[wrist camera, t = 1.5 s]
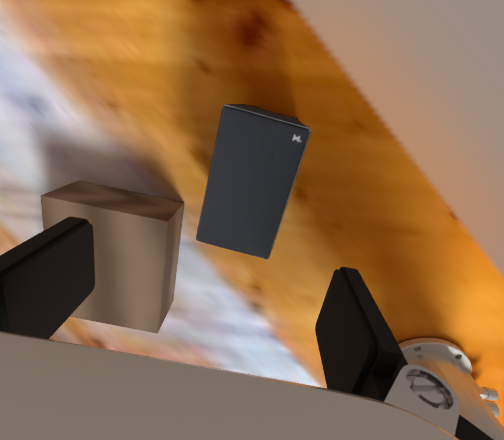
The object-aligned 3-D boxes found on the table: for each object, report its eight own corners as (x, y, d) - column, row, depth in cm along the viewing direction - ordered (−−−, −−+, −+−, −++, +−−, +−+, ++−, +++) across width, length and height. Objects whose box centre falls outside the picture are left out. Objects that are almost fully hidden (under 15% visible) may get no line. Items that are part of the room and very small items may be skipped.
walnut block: (185, 201, 32) (167, 221, 27) (173, 299, 37) (157, 333, 32) (80, 180, 32) (40, 195, 26) (83, 281, 37) (51, 312, 32)
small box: (236, 100, 28) (219, 98, 18) (300, 118, 28) (317, 126, 18) (214, 200, 32) (191, 242, 22) (270, 214, 32) (271, 262, 22)
